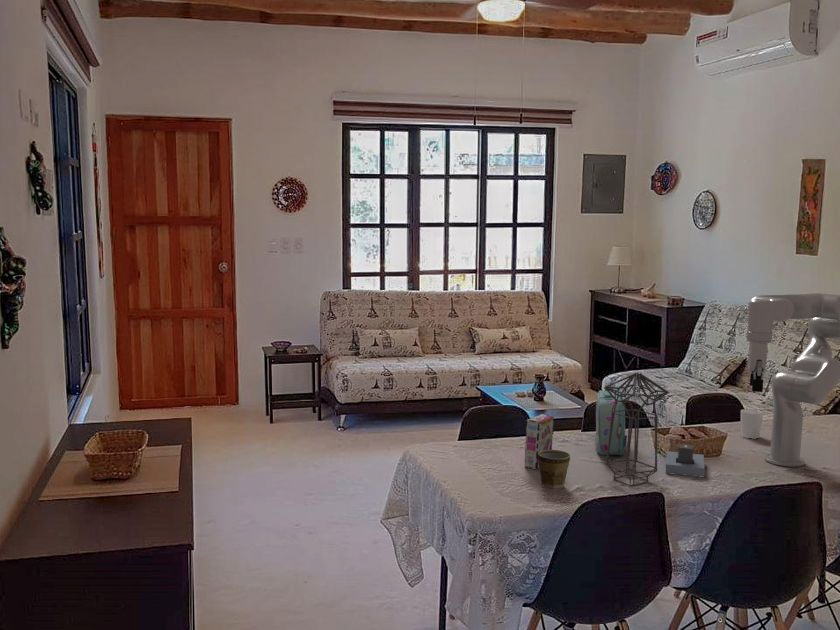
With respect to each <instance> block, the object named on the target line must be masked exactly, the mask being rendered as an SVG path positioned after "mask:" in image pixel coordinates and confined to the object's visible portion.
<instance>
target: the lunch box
mask: <svg viewBox="0 0 840 630" xmlns="http://www.w3.org/2000/svg"><path fill="white" fill-rule="evenodd" d="M619 391H620V392H622V390H621V389H620V390H619ZM610 392H611V391H610ZM614 392H615V391H614ZM611 394H612V395H613V396H614V397H615V394H614V393H612V392H611ZM617 394H618V392H617ZM619 395H620V393H619ZM621 398H622V400H624V399H623V398H624V397H621ZM616 399H617V395H616ZM618 400H621V399H620V397H619V398H618ZM614 402H615V400H614V399H613V397H612V396H611V395H610V394H609V393H608V391H607V390H598V393H597V394H596V402H595V403H596V404H595V405H596V406H595V426H596V427H595V437H594V442H595V449H596V451H597V453H598V454H599V455H606V456H607V452H608V443H609V433H610V424H611V414H612V412H613V411H614V408H613V405H614ZM615 403H616V402H615ZM614 407H615V405H614ZM612 408H613V411H612ZM619 410H626V409H625V407H624V405H623V403H622V402H617V405H616V409H615V411H619ZM611 411H612V412H611ZM615 413H617V414H620V415H624V416H626V411H621V412H615ZM617 414H615V415H614V423H613V429H612V436H611V443H610V450H609V456H610V455H611V456H615V455H616V456H623V455H624V452H625V448H627V441H628V434H626V417H623V416H620V415H617Z"/></svg>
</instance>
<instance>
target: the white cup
mask: <svg viewBox="0 0 840 630" xmlns="http://www.w3.org/2000/svg"><path fill="white" fill-rule="evenodd" d="M763 414H764V413H763V411H762V410H759V409H754V408H753V409H752V408H744V409H740V436H741V437H742V438H744V437H745V439H749V438H752V439H751V440H757V439H756V438H758V439H760V435H761V430H762V422H763V416H764V415H763Z"/></svg>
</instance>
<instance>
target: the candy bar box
mask: <svg viewBox="0 0 840 630" xmlns="http://www.w3.org/2000/svg"><path fill="white" fill-rule="evenodd" d="M554 417H555V416H553V415H550V414H549V415H548V414H543V413H541V414H538V415H536V416H534V417H531V418H529V419H526V427H525V428H526V429H525V446H524V466H526V467H525V468H527V467H530V468H529V469H531V468H534V469H533V470H535V469H537V470H538V468H539V469H540V467H539V461H538V452H540V451H543V450H553V438H554V437H553V433H554Z"/></svg>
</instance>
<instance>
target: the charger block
mask: <svg viewBox="0 0 840 630" xmlns="http://www.w3.org/2000/svg"><path fill="white" fill-rule="evenodd" d="M678 452H679V453H678V463H684V464H692V458H693V454H694V445H689V444H681V443H680V444H678Z"/></svg>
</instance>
